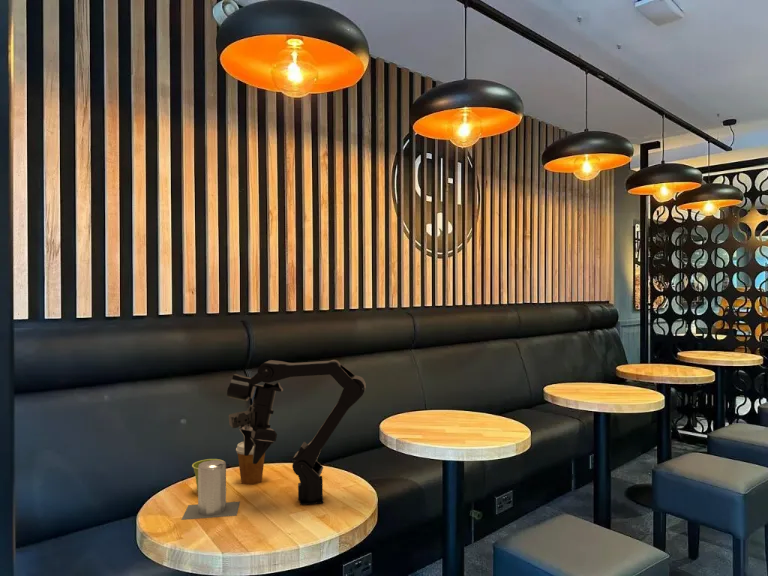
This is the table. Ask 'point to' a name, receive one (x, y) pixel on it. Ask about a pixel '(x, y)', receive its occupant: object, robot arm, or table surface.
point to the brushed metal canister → (211, 487)
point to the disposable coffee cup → (249, 466)
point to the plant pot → (197, 468)
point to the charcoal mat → (193, 514)
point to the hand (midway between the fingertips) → (250, 459)
